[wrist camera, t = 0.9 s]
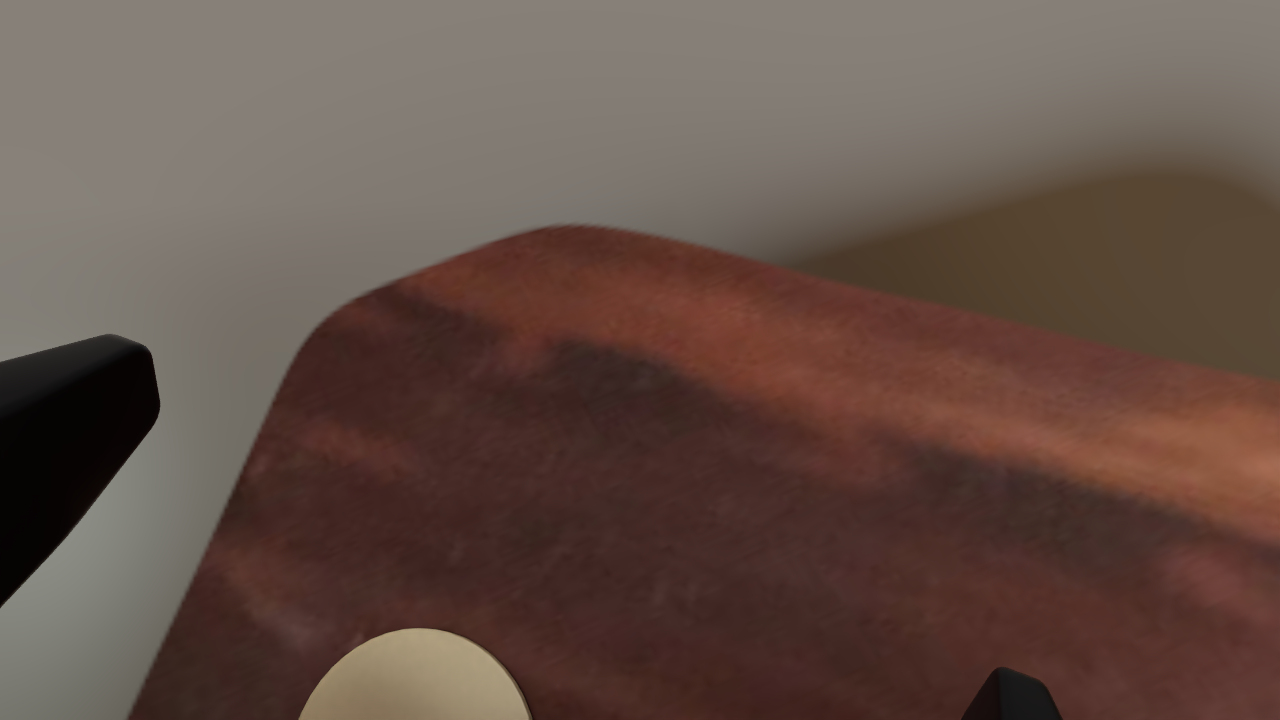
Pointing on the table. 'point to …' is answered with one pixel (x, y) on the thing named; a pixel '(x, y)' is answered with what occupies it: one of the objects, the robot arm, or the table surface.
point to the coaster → (417, 682)
